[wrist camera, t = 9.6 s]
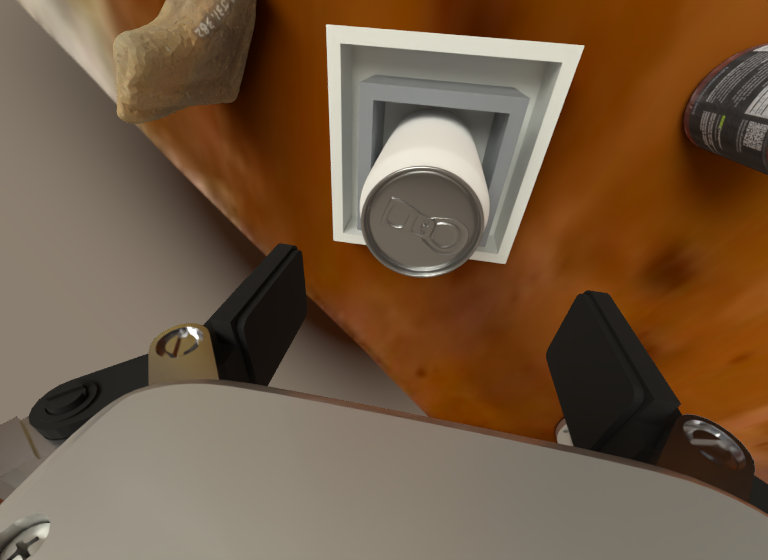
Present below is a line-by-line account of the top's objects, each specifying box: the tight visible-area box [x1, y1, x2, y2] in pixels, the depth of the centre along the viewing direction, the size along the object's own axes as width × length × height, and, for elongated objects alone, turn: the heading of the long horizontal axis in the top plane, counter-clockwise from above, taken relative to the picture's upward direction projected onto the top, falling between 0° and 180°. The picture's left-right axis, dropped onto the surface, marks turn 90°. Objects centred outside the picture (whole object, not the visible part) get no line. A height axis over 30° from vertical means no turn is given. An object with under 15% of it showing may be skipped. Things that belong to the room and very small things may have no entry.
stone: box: [113, 0, 257, 124], centre depth 18 cm, size 9×5×10 cm, turn 146°
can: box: [360, 108, 490, 278], centre depth 19 cm, size 6×6×12 cm
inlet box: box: [326, 24, 584, 264], centre depth 22 cm, size 14×14×6 cm
